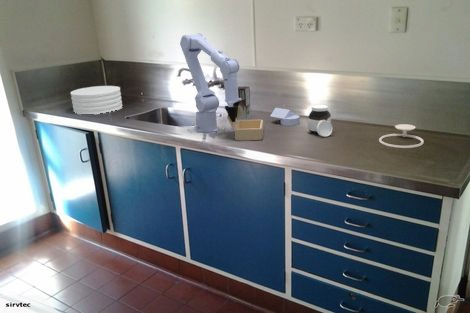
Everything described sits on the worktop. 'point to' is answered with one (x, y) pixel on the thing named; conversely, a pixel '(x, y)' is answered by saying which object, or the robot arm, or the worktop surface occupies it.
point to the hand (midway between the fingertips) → (233, 119)
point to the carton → (249, 130)
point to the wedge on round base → (286, 117)
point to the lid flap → (232, 122)
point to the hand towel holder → (405, 128)
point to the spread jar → (320, 121)
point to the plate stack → (96, 99)
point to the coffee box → (244, 103)
